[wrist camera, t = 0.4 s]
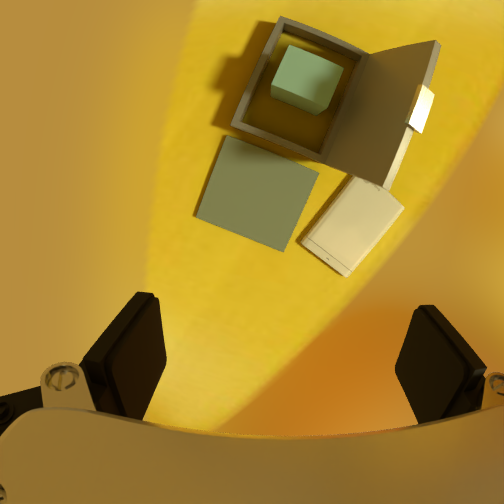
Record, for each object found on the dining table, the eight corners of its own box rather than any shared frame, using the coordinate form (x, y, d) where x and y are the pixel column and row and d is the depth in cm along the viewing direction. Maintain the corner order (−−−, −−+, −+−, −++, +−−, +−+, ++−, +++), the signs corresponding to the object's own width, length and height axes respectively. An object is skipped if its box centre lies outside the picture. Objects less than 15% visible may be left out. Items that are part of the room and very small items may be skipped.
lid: (437, 36, 16) (448, 47, 17) (367, 52, 27) (377, 59, 28) (383, 186, 21) (396, 194, 22) (321, 162, 32) (333, 168, 33)
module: (285, 63, 31) (289, 44, 24) (330, 82, 31) (344, 67, 24) (270, 96, 32) (271, 84, 26) (316, 115, 33) (327, 108, 26)
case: (279, 23, 29) (280, 15, 26) (364, 59, 29) (370, 54, 27) (232, 127, 34) (230, 125, 31) (320, 163, 35) (324, 164, 32)
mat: (227, 135, 34) (226, 135, 34) (318, 172, 35) (319, 173, 34) (196, 216, 38) (195, 217, 37) (283, 250, 38) (283, 252, 38)
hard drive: (362, 166, 33) (301, 244, 37) (406, 208, 35) (347, 279, 38) (358, 166, 35) (299, 240, 39) (401, 206, 36) (344, 274, 40)
